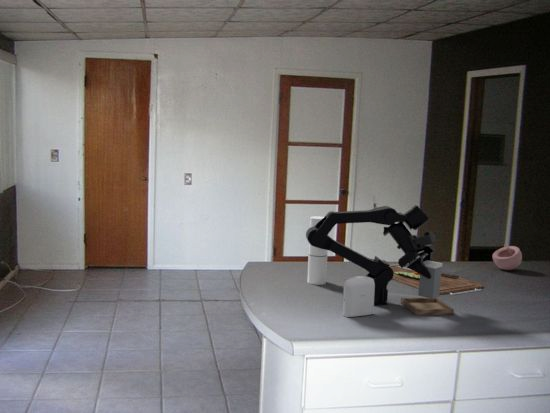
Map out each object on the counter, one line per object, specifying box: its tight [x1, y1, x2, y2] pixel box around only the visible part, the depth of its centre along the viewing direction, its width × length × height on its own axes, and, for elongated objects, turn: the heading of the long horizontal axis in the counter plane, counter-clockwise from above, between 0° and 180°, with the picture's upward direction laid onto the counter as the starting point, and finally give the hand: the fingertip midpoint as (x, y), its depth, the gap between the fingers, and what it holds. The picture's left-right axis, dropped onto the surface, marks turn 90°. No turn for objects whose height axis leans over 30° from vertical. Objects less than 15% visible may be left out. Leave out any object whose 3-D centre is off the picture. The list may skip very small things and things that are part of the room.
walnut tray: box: [400, 297, 455, 316], centre depth 184 cm, size 13×13×2 cm
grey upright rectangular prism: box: [417, 260, 444, 299], centre depth 182 cm, size 5×5×11 cm
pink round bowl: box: [492, 244, 523, 271], centre depth 245 cm, size 12×12×11 cm
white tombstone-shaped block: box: [342, 275, 375, 318], centre depth 175 cm, size 10×4×12 cm, turn 114°
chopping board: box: [389, 263, 483, 296], centre depth 225 cm, size 45×27×3 cm, turn 30°
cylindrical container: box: [306, 215, 329, 286], centre depth 212 cm, size 7×7×25 cm
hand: (433, 276), depth 181 cm, fingers closed on grey upright rectangular prism, 5 cm apart
